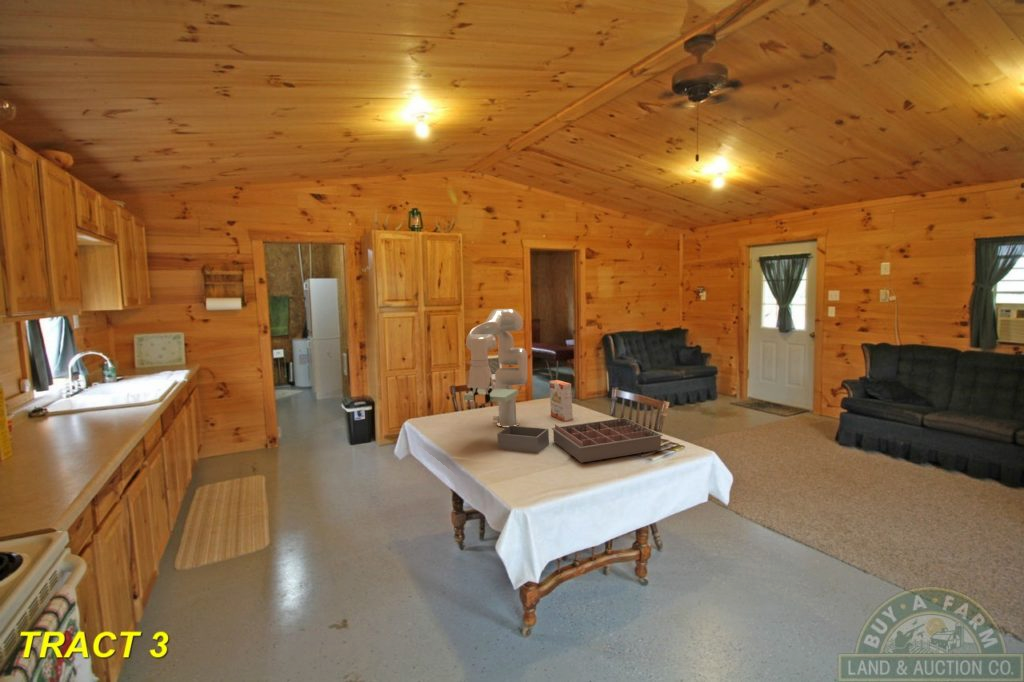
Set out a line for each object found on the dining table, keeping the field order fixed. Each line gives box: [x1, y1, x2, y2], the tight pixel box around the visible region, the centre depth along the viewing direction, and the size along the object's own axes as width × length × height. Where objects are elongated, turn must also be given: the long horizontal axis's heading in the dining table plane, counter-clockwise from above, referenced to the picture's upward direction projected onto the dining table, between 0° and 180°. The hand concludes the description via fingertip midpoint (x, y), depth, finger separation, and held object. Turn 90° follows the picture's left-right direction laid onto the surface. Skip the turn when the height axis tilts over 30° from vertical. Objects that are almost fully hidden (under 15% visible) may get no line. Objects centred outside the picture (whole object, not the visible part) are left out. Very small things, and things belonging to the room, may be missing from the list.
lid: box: [462, 388, 519, 404], centre depth 238 cm, size 22×20×4 cm
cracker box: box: [549, 379, 574, 422], centre depth 280 cm, size 14×6×21 cm, turn 28°
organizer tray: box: [550, 417, 663, 463], centre depth 228 cm, size 32×40×10 cm
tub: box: [496, 425, 550, 454], centre depth 233 cm, size 20×14×8 cm
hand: (482, 401), depth 231 cm, fingers closed on lid, 4 cm apart
